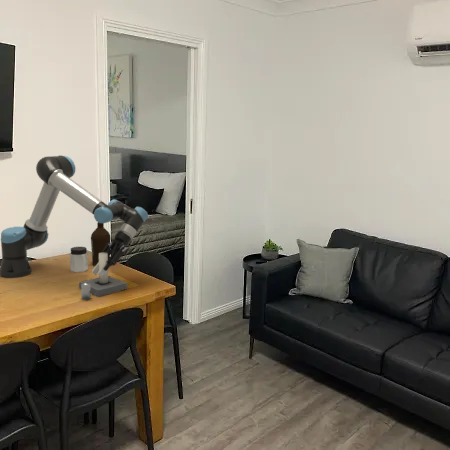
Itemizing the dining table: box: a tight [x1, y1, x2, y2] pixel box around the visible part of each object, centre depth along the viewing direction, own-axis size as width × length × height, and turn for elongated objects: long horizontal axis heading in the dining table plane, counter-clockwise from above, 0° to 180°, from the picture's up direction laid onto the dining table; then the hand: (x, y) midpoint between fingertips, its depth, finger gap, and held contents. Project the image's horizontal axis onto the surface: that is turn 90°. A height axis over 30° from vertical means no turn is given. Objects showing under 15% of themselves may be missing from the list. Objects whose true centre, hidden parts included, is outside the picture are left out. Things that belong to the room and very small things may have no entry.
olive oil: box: [90, 222, 111, 267], centre depth 266 cm, size 11×11×25 cm
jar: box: [69, 246, 89, 273], centre depth 255 cm, size 9×8×12 cm
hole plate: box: [78, 275, 128, 298], centre depth 228 cm, size 16×16×3 cm
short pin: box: [80, 282, 92, 301], centre depth 214 cm, size 4×4×7 cm
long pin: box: [98, 252, 109, 283], centre depth 226 cm, size 4×4×14 cm
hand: (96, 274), depth 224 cm, fingers closed on long pin, 4 cm apart
